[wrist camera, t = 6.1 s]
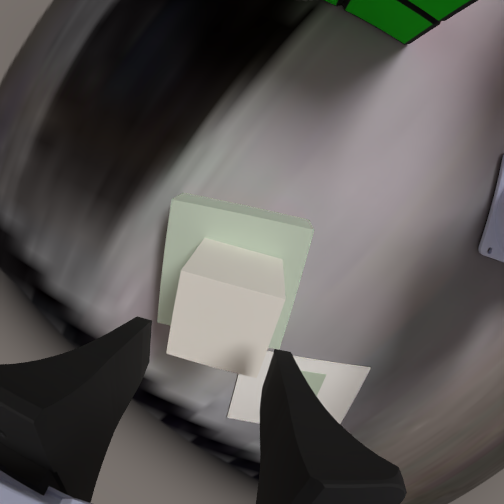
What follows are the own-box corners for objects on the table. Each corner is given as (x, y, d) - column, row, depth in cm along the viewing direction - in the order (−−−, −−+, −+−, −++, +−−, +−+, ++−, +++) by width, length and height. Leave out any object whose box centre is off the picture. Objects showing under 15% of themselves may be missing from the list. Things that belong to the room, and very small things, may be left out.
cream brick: (282, 259, 18) (285, 299, 13) (260, 325, 20) (256, 378, 15) (204, 237, 18) (181, 270, 13) (189, 306, 20) (166, 353, 15)
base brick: (308, 218, 20) (314, 230, 18) (278, 325, 23) (279, 349, 20) (184, 191, 20) (171, 199, 18) (169, 301, 23) (157, 322, 20)
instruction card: (370, 367, 23) (371, 368, 23) (335, 431, 26) (335, 432, 26) (245, 346, 23) (245, 347, 23) (227, 416, 26) (226, 417, 25)
